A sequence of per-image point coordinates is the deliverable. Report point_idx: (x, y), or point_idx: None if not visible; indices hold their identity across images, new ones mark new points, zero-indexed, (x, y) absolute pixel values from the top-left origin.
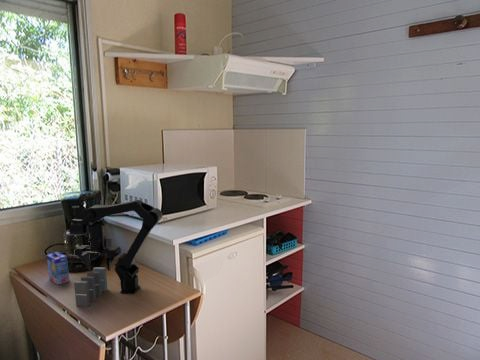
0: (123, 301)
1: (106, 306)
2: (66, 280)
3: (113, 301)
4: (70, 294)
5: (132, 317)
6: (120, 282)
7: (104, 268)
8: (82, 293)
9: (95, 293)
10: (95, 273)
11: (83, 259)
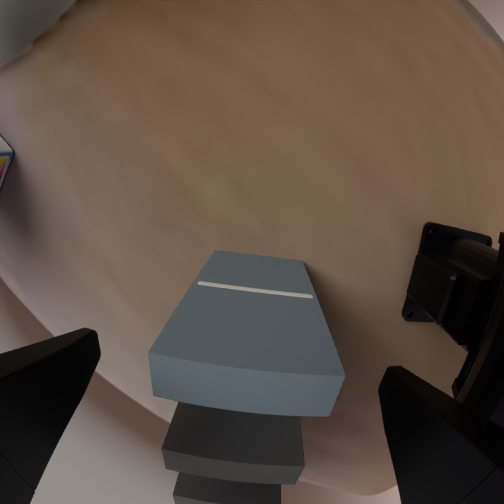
0: None
1: (351, 425)
2: (2, 167)
3: (376, 392)
4: (96, 318)
5: None
6: (430, 317)
7: (332, 403)
8: None
9: None
10: (264, 482)
11: (23, 500)
